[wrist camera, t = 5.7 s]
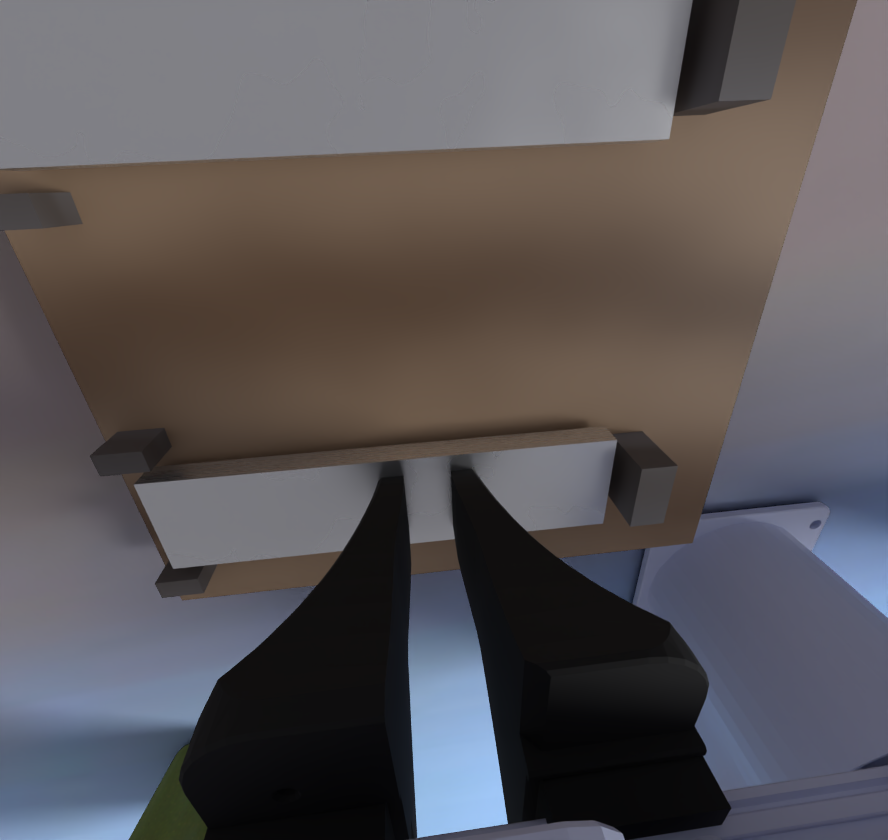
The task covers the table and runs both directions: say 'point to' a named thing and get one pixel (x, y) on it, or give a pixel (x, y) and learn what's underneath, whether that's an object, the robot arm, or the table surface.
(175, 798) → the plant pot
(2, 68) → the latch
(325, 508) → the bar
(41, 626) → the table surface
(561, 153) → the wooden wall rack
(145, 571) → the table surface
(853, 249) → the table surface
